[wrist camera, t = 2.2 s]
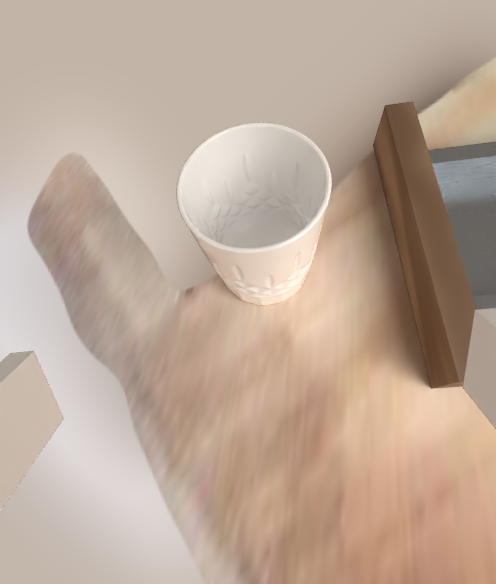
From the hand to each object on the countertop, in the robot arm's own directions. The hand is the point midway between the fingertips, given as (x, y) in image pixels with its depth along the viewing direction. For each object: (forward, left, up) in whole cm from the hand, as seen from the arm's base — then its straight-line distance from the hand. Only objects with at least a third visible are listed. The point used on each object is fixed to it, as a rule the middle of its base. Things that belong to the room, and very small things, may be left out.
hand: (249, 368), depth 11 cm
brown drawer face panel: (-11, -10, -14) cm, 20 cm away
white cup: (0, -10, -14) cm, 17 cm away
